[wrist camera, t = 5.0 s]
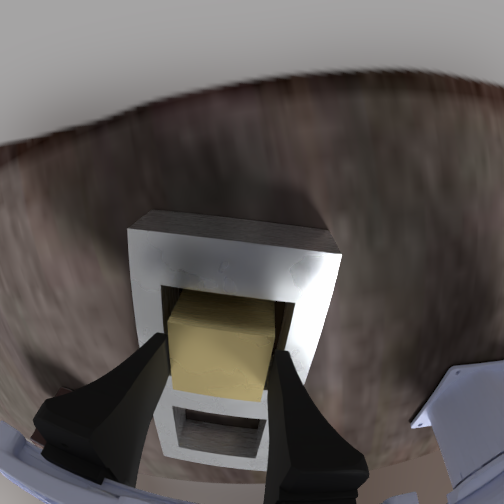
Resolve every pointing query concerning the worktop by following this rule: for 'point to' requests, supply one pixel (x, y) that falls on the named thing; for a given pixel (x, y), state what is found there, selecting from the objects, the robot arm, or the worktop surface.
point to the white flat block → (238, 284)
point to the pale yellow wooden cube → (221, 344)
